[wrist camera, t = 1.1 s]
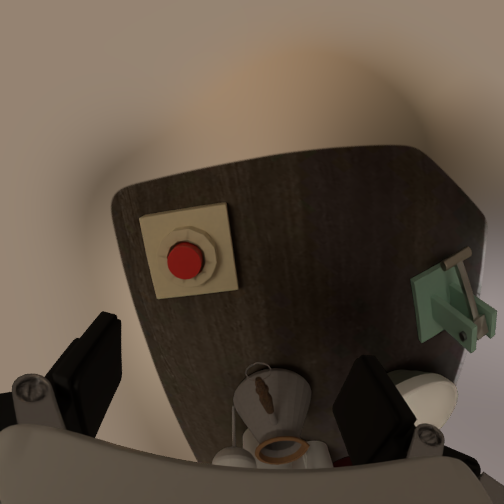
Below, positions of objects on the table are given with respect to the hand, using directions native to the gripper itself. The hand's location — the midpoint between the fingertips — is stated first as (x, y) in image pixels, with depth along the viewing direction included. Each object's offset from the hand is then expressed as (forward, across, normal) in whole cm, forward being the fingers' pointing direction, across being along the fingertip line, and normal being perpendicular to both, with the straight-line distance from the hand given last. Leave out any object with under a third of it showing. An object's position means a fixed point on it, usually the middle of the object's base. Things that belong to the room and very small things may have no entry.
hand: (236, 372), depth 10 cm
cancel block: (+25, +5, +3) cm, 26 cm away
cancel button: (+22, +5, +3) cm, 22 cm away
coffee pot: (+25, -8, +18) cm, 32 cm away
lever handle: (+18, -31, 0) cm, 36 cm away
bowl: (+26, -32, +22) cm, 47 cm away
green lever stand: (+25, -33, +3) cm, 42 cm away
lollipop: (+26, -5, +28) cm, 38 cm away
